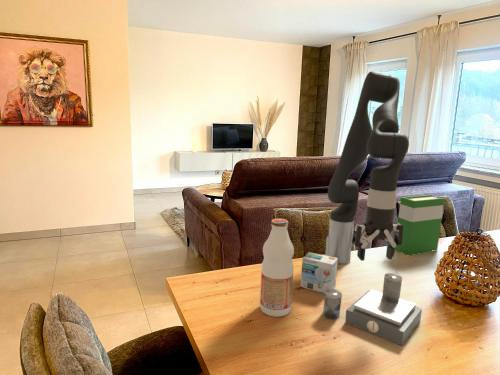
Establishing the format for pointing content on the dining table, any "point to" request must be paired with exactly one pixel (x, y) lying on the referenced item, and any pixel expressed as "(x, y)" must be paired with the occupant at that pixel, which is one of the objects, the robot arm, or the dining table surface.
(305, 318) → the dining table surface
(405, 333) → the scale
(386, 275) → the cylinder
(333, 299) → the cylinder
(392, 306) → the platform
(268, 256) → the fruit juice
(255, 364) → the dining table surface
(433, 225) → the green cereal box
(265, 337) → the dining table surface
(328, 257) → the light bulb box
